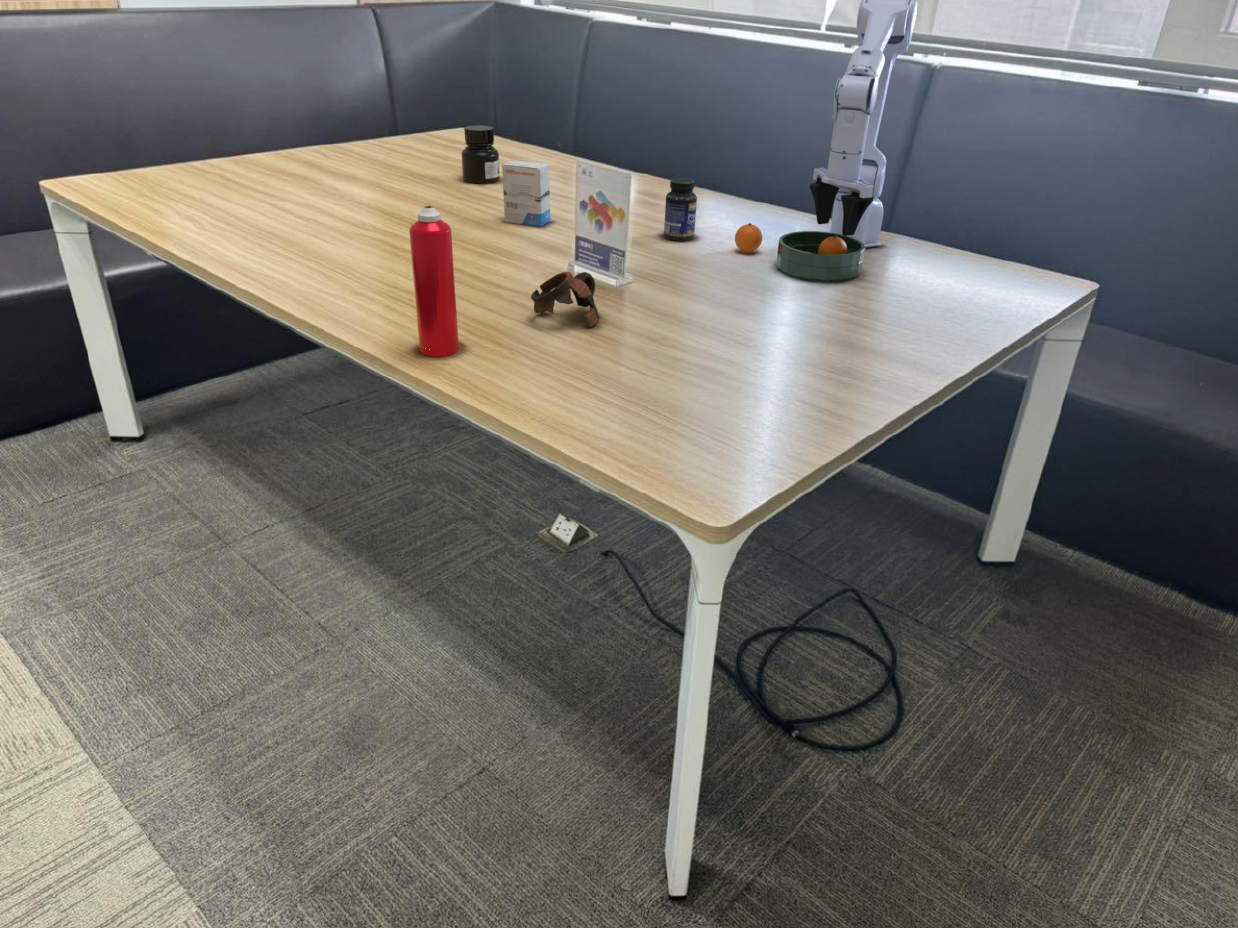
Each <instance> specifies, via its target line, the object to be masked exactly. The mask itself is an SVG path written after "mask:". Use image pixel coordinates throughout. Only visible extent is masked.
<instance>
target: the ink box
mask: <svg viewBox="0 0 1238 928" xmlns="http://www.w3.org/2000/svg"><path fill="white" fill-rule="evenodd" d="M501 168H502V169H501V170H502V171H501V172H502V173H501V174H502V187H503V188H502V189H503V192H502V193H503V209H504V222H505V223H511V224H516V225H517V224H518V225H525V226H532V227H539V228H540V227H543V226H544V225H547V224H548V223H549V222H551V198H550V197H551V196H550V195H551V194H550V193H551V192H550V164H548V163H542V162H532V161H523V160H511V161H508V162H505V163H503V164H502V165H501Z"/></svg>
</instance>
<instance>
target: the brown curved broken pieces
mask: <svg viewBox="0 0 1238 928" xmlns="http://www.w3.org/2000/svg"><path fill="white" fill-rule="evenodd" d="M539 288H540V290H541V292H539V290H538V289H535V290H534V291H533V292H532V293H531V295H530V299H531V300H532V301H533V312H534V313H536V314H540V315H545V313H546V312H547V313H550V314H552V315H554V314H555V313H554V312H555V311H554V307H555V302H557V303H559V304H565V305H572V304H574V299H573V298H572V294H573V296H574V298H575V300H576V304H577V306H578V307H582V308H588V307H589V310H588V311H587V313H585V314H584V318H585V320H586V321H587V325H588V327H589V328H590V329H591V328H592V327H594V326H595V325H596V324H597V322H598V321H599V319H600V315H599V311H598V308H597V305H596V303H595V300H594V299H595V298H594V294H595V292H596V281H595V279H594V277H593V276H592V274H590V273H589V272H586V271H582V272H580V273H577V274H576V275H575V276H573V273H572V272H571V271H562V272H560V273H557V274H555V275H554V276H551V277H550V278H549V279H547V280H546V281H544V282H543V283H541V284H540V285H539ZM571 292H572V293H571Z"/></svg>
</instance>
